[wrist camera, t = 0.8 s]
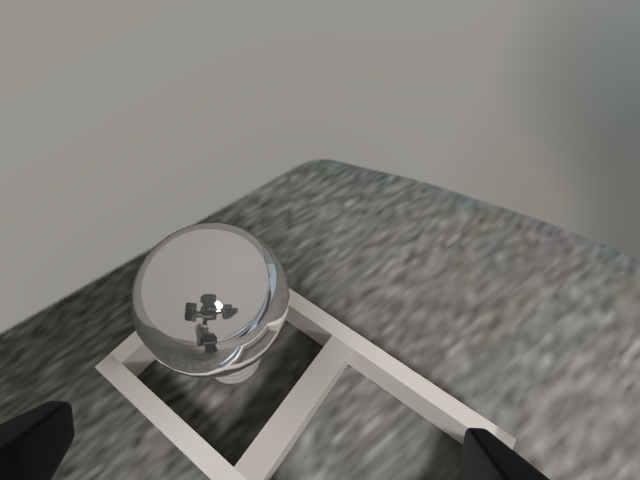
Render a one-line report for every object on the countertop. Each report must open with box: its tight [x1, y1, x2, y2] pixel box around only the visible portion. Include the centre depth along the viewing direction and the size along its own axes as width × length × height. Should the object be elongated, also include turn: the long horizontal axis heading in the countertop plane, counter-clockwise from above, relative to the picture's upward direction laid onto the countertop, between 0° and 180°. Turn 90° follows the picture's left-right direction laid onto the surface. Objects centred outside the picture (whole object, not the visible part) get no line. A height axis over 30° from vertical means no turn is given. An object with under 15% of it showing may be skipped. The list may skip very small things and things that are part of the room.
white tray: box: [95, 288, 516, 480], centre depth 21 cm, size 11×21×4 cm, turn 55°
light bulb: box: [131, 223, 290, 384], centre depth 19 cm, size 7×7×12 cm
